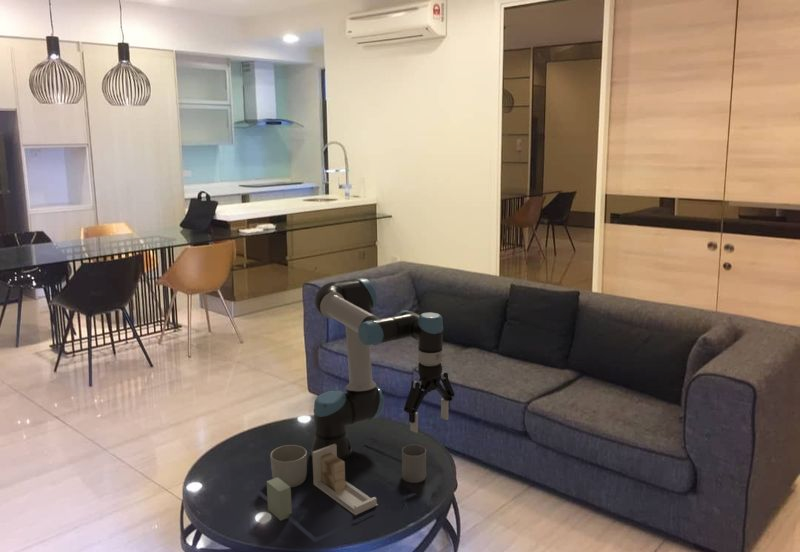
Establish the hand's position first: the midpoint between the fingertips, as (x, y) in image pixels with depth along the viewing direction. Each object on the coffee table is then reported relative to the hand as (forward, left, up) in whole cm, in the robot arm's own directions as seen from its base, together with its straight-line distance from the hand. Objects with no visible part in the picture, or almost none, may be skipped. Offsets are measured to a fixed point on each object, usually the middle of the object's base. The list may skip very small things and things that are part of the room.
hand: (429, 424), depth 210 cm
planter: (-39, -30, -26) cm, 55 cm away
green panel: (-25, -42, -26) cm, 55 cm away
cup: (-14, +5, -26) cm, 30 cm away
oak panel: (-25, -21, -25) cm, 41 cm away
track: (-19, -21, -26) cm, 38 cm away
